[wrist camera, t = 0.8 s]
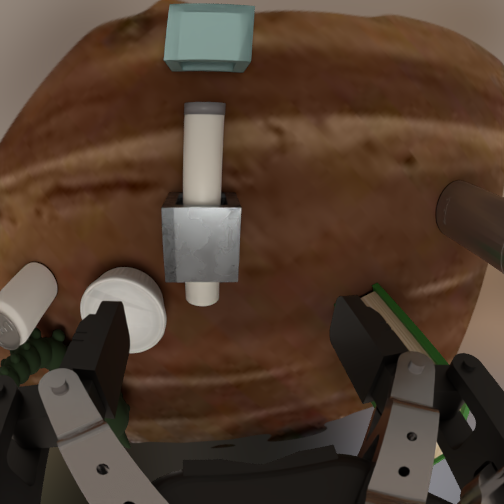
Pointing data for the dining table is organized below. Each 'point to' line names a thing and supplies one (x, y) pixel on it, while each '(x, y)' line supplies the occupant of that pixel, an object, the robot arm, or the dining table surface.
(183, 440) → the dining table surface
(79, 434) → the robot arm
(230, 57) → the socket
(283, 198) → the dining table surface
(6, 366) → the dark green lumpy piece
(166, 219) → the sleeve
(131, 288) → the ramekin
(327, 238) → the dining table surface
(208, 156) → the tube
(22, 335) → the can
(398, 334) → the hardback book
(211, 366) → the dining table surface
